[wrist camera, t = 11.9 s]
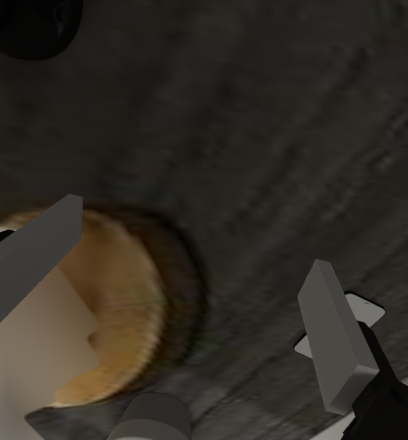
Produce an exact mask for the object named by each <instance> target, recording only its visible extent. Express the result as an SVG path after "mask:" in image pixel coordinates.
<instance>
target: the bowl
mask: <svg viewBox="0 0 408 440" xmlns="http://www.w3.org/2000/svg"><path fill="white" fill-rule="evenodd" d="M107 440H192V438H191V426H190V415H189V411H188V409H187V408H186V406H185V405H184V404H183V403H181V402H180V401H179V400H177V399H176V398H174V397H171V396H169V395H166V394H162V393H144V394H140V395H138V396H136V397H135V398H134V399H133V400H132V401H131V403H130V404H129V406H128V407H127V409H126V411H125V412H124V414H123V415H122V417H121V419H120V420H119V422H118V423H117V425H116V427H115V428H114V429H113V431H112V433H111V434H110V436H109V437H108V439H107Z"/></svg>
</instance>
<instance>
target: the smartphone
mask: <svg viewBox="0 0 408 440" xmlns="http://www.w3.org/2000/svg"><path fill="white" fill-rule="evenodd" d="M344 294H345V296H346V299H347V301H348V303H349V305H350V307H351V309H352V312H353V314H354V316H355V318H356V320H358V321H362V322H365V323H366V324H367V326H368V327H369V328H371V327H372V326H373V325H374V324H375V323H376V322H377V321H378V320H379V319H381V318H382V317H383V316H384V315H385V313H386V311H385V309H384V307H383V306H381V305H379V304H377V303H375V302H373V301H371V300H369V299H367V298H365V297H363V296H361V295H359V294H357V293H355V292H353V291H345V292H344ZM293 347H294V351H296V352H298V353H300V354H302V355H304V356H306V357H309V358H311V359H313V357H312V353H311V349H310V345H309V341H308V337H307V333H305V334H304V335H303V336H302V337H301V338H300V339H299V340H298V341H297V342H296V343H295V344H294V346H293Z"/></svg>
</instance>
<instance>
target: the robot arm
mask: <svg viewBox="0 0 408 440" xmlns="http://www.w3.org/2000/svg"><path fill="white" fill-rule="evenodd" d="M81 13H82V0H0V53H1V54H3V55H6V56H9V57H12V58H16V59H24V60H43V59H48V58H51V57H53V56H55V55H57V54H59V53H60V52H61V51H63V50H64V49H65V48H66V47H67V46H68V44H69V43H70V42H71V40H72V39H73V37H74V35H75V33H76V31H77V29H78V26H79V22H80V18H81ZM82 207H83V197H80V196H76V195H72V194H68V195H67V196H65V197H64V198H63V199H61V200H60V201H58V202H57V203H55V204H54V205H53V206H51V207H50V208H48V209H47V210H45V211H44V212H43V213H41V214H40V215H38V216H37V217H35V218H34V219H32V220H31V221H30V222H28V223H27V224H25V225H24V226H22V227H21V228H20V229H18V230H17V231H13V230H9V229H8V230H5V231H2V232H0V322H1V321H2V320H3V319H4V318H5V317H6V316H7V315H8V314H9V313H10V312H11V311H12V310H13V309H14V308H15V307H16V306H17V305H18V304H19V303H20V302H21V301H22V300H23V299H24V298H25V297H26V296H27V295H28V293H29V292H30V291H31V290H32V289H33V288H34V287H35V286H36V285H37V284H38V283H39V282H40V281H41V280H42V279H43V278H44V277H45V276H46V275H47V274H48V273H49V272H50V271H51V270H52V269H53V268H54V267H55V266H56V265H57V264H58V263H59V262H60V261H61V260H62V259H63V257H64V256H65V255H66V254H67V253H68V252H69V251H70V250H71V249H72V248H73V247H74V246H75V245H76V244H77V243H78V242H79V241H80V240H81V228H82ZM297 297H298V301H299V305H300V309H301V313H302V317H303V321H304V325H305V329H306V333H307V337H308V341H309V345H310V349H311V353H312V357H313V362H314V366H315V370H316V374H317V378H318V382H319V386H320V390H321V394H322V398H323V402H324V406H325V410H326V411H329V412H333V413H337V414H341V415H345V414H346V413H347V412H348V411H349V409H350V408H351V407H352V408H353V411H354V414H355V418H354V419H353V421H352V422H351V423H350V424H349V426H348V427H347V428H346V429H345V431H344V432H343V434H344V435H343V437H342V438H341V440H408V386H407V385H405V384H403V383H402V382H400V381H398V380H397V378H396V376H395V374H394V372H393V370H392V368H391V366H390V364H389V362H388V360H387V358H386V356H385V354H384V352H382V351H383V350H382V348H381V346H380V344H378V340H377V338H376V336H375V334H374V332H373V331H372V330H371V329H370V328H369V327H368V326H367V324H366V323H365V322H362V321H358V320H356V318H355V316H354V314H353V312H352V309H351V307H350V305H349V303H348V301H347V299H346V296H345V294H344V292H343V290H342V288H341V286H340V283H339V281H338V279H337V277H336V275H335V273H334V270H333V268H332V266H331V264H330V262H327V261H323V260H319V259H316V260H315V262H314V264H313V266H312V268H311V270H310V272H309V274H308V276H307V278H306V280H305V282H304V284H303V286H302V288H301V290H300V292H299V294H298V296H297Z"/></svg>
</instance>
